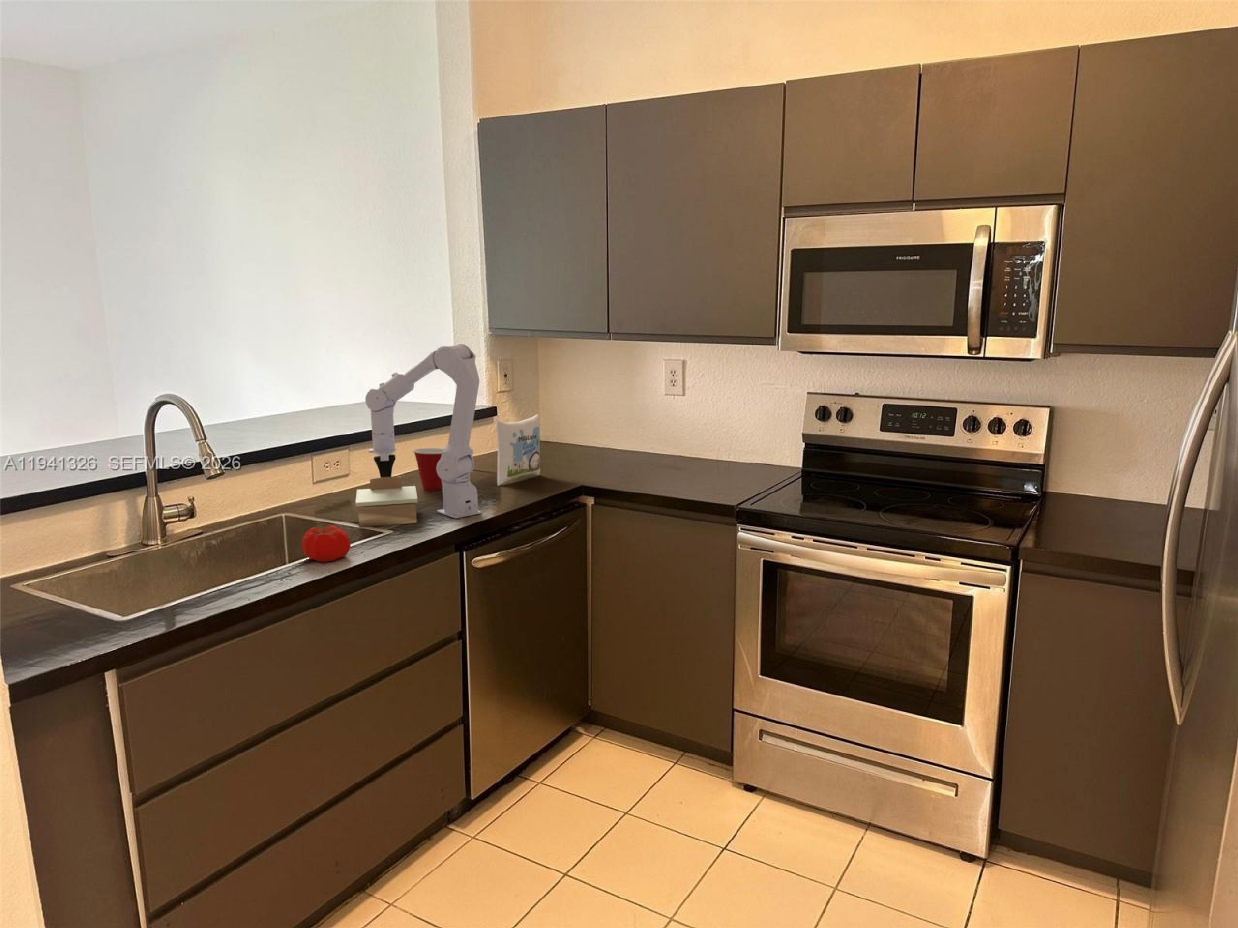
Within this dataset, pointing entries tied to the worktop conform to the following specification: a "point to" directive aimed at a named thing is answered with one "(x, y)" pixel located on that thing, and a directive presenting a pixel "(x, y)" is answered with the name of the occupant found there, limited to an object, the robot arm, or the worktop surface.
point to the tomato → (325, 543)
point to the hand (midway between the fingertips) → (386, 482)
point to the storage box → (387, 514)
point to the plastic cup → (429, 467)
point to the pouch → (518, 448)
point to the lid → (386, 492)
